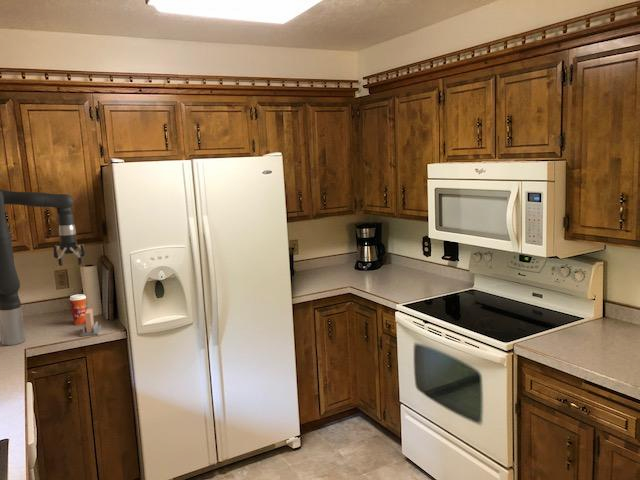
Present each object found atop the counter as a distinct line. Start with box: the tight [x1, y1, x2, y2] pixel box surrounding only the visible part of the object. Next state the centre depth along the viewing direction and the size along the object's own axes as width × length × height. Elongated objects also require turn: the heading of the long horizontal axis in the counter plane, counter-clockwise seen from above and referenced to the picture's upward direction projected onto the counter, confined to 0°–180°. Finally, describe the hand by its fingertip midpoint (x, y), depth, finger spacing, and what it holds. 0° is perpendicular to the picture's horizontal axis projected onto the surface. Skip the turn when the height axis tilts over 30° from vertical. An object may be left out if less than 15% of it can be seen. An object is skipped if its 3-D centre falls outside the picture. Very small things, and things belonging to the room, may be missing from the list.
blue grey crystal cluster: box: [79, 321, 102, 338], centre depth 269 cm, size 8×13×4 cm, turn 15°
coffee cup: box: [69, 293, 87, 326], centre depth 285 cm, size 8×8×15 cm
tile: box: [85, 308, 95, 333], centre depth 269 cm, size 9×2×10 cm, turn 16°
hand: (70, 265), depth 270 cm, fingers open, 8 cm apart
